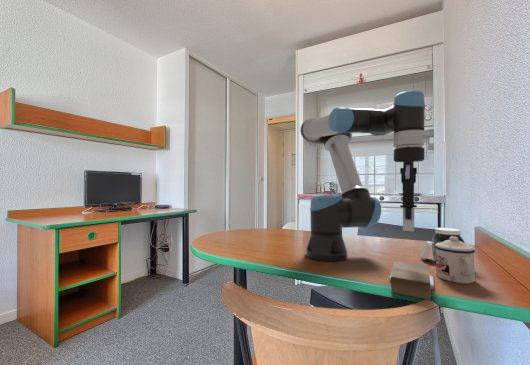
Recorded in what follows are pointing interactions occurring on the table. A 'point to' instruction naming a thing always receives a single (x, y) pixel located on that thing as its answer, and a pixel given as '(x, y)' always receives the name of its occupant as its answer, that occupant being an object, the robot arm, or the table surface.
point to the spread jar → (441, 239)
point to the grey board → (430, 282)
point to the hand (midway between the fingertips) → (408, 230)
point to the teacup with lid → (455, 261)
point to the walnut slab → (411, 279)
